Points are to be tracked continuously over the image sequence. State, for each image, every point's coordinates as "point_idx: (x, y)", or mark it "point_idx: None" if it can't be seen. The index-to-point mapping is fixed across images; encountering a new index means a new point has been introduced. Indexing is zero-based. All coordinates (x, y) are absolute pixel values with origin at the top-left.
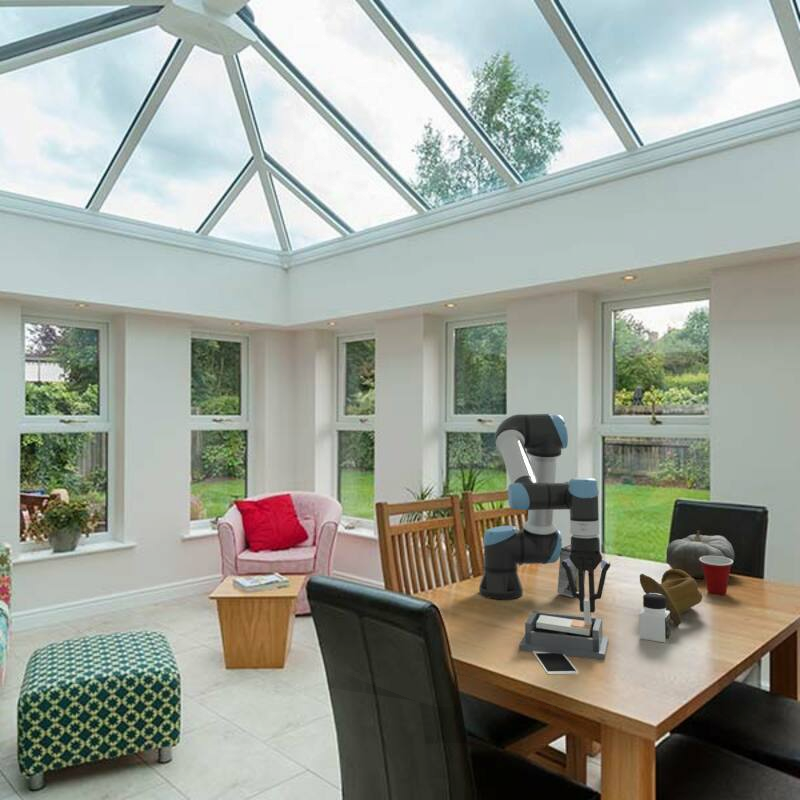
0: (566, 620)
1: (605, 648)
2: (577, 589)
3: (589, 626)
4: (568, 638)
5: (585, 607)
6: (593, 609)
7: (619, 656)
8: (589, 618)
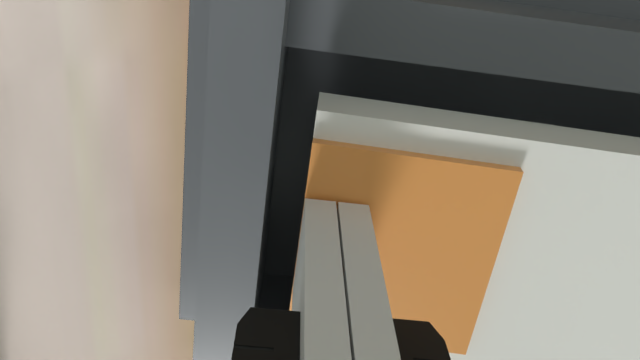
0: (532, 326)
1: (190, 73)
2: None
3: (315, 191)
4: (534, 16)
5: (372, 338)
6: (251, 336)
7: (93, 38)
8: (313, 242)
